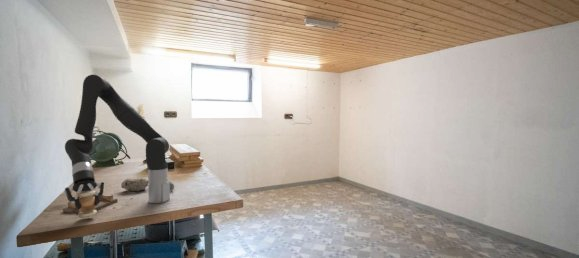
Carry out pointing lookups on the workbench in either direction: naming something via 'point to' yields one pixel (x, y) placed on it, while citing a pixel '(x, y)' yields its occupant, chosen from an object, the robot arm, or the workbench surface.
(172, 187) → the flashlight
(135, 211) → the workbench surface
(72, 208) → the notched board
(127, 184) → the pumice stone
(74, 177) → the robot arm
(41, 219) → the workbench surface
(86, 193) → the bobbin
